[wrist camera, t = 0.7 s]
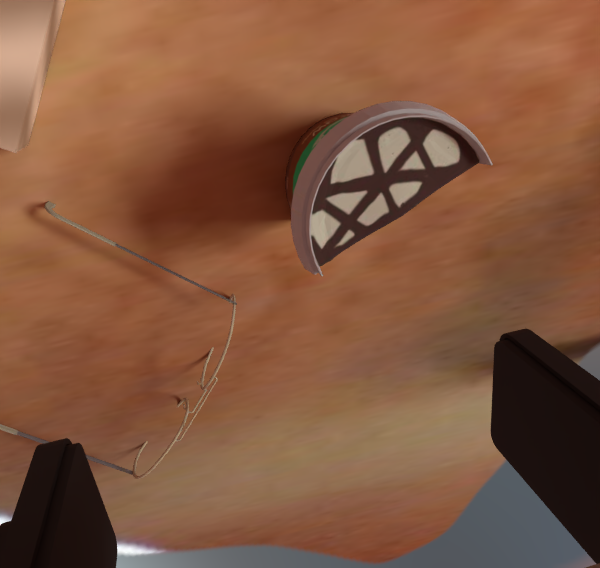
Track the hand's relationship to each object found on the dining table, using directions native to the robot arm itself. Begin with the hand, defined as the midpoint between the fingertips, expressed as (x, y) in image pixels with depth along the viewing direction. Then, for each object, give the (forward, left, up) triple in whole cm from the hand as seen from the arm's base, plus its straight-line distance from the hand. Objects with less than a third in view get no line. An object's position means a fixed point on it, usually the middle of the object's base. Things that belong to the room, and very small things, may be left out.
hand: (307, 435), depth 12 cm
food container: (-5, +7, -27) cm, 28 cm away
